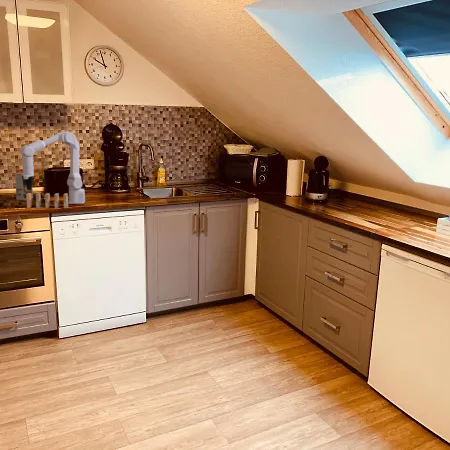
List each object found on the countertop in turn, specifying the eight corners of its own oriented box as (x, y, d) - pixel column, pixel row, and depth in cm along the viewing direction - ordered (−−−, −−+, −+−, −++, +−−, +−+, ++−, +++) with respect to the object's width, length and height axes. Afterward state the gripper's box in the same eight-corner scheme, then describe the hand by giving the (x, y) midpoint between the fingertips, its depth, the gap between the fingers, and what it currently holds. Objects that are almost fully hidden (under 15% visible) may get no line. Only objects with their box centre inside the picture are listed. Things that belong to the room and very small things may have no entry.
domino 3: (59, 206, 287) (58, 193, 285) (57, 207, 282) (57, 194, 280) (56, 206, 287) (55, 193, 285) (54, 207, 282) (54, 194, 280)
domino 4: (68, 206, 288) (67, 193, 286) (66, 208, 283) (66, 194, 281) (65, 206, 288) (64, 193, 286) (64, 208, 283) (63, 194, 281)
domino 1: (41, 206, 285) (40, 193, 283) (39, 207, 280) (38, 194, 279) (38, 206, 285) (37, 193, 283) (36, 207, 280) (35, 194, 278)
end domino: (31, 206, 284) (31, 193, 283) (30, 207, 280) (29, 194, 278) (29, 206, 284) (28, 193, 282) (27, 207, 279) (26, 194, 278)
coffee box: (25, 200, 301) (23, 175, 297) (16, 199, 302) (14, 174, 298) (33, 198, 310) (32, 173, 306) (24, 197, 311) (23, 172, 307)
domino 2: (50, 206, 286) (49, 193, 284) (48, 207, 281) (47, 194, 280) (47, 206, 286) (46, 193, 284) (45, 207, 281) (45, 194, 279)
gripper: (24, 165, 283) (25, 187, 286) (17, 168, 269) (19, 191, 272) (36, 165, 284) (37, 187, 287) (30, 168, 270) (31, 191, 273)
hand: (29, 189), depth 280 cm, fingers closed
